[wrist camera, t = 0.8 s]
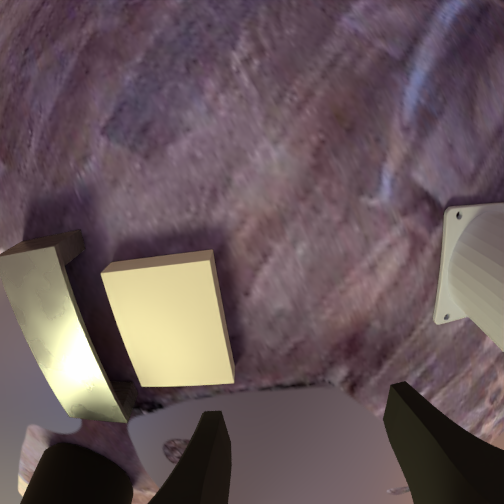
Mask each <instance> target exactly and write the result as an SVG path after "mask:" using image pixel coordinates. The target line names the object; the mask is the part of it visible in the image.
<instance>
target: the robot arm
mask: <svg viewBox="0 0 504 504" xmlns="http://www.w3.org/2000/svg"><path fill="white" fill-rule="evenodd" d="M458 212H459V216H458V217H457V218H456V215H457V213H458ZM446 314H447V315H446ZM445 315H446V316H445ZM465 317H469V318H470V319H471V320H472V321H473V322H474V323H475V324H476V325H477V326H478V327H479V328H480V329H481V330H482V331H483V332H484V333H485V334H486V335H487V336H488V337H489V338H490V339H491V340H492V341H493V342H494V343H495V344H496V345H497V346H498V347H499V348H500V349H501V350H502V351H503V352H504V202H502V203H488V204H475V205H463V206H451V207H448V208H447V209H446V210H445V212H444V225H443V241H442V253H441V264H440V273H439V281H438V289H437V296H436V303H435V309H434V315H433V320H434V322H435V323H436V324H443V323H447V322H450V321H454V320H458V319H461V318H465ZM383 421H384V425H385V428H386V432H387V435H388V438H389V441H390V444H391V446H392V448H393V451H394V453H395V455H396V457H397V460H398V462H399V464H400V467H401V469H402V471H403V473H404V476H405V478H406V481H407V483H408V486H409V489H410V491H411V495H412V498H413V502H414V504H504V450H502V449H500V448H497V447H494V446H493V445H491V444H489V443H487V442H485V441H483V440H481V439H479V438H478V437H476V436H474V435H472V434H471V433H469V432H468V431H466V430H465V429H463V428H462V427H460V426H459V425H457V424H456V423H455V422H453V421H452V420H451V419H449V418H448V417H447V416H445V415H444V414H443V413H442V412H440V411H439V410H438V409H437V408H436V407H434V406H433V405H432V404H431V403H430V402H428V401H427V400H426V399H425V398H424V397H423V396H422V395H420V394H419V393H418V392H417V391H416V390H415V389H414V388H413V387H411V386H410V385H409V384H408V383H407V382H406V381H404V382H400V383H396V384H392V385H390V390H389V395H388V400H387V404H386V409H385V413H384V417H383ZM231 466H232V465H231V441H230V438H229V435H228V431H227V428H226V425H225V421H224V418H223V415H222V412H221V411H207V412H206V411H205V412H204V413H202V416H201V418H200V421H199V423H198V425H197V428H196V430H195V432H194V434H193V436H192V438H191V440H190V442H189V444H188V446H187V448H186V449H185V451H184V453H183V455H182V457H181V458H180V460H179V462H178V463H177V465H176V466H175V468H174V470H173V471H172V473H171V474H170V476H169V477H168V479H167V480H166V481H165V483H164V484H163V486H162V487H161V488H160V489H159V491H158V492H157V493H156V494H155V496H154V497H153V498H152V499H151V500H150V501H149V502H148V504H228V497H229V487H230V476H231Z"/></svg>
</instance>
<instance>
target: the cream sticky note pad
mask: <svg viewBox="0 0 504 504" xmlns="http://www.w3.org/2000/svg"><path fill="white" fill-rule="evenodd" d="M101 277H102V280H103V283H104V286H105V290H106V293H107V296H108V299H109V302H110V305H111V308H112V311H113V314H114V317H115V320H116V323H117V325H118V328H119V331H120V334H121V336H122V339H123V342H124V344H125V347H126V349H127V352H128V355H129V357H130V360H131V362H132V364H133V367H134V369H135V372H136V374H137V376H138V379H139V381H140V383H141V386H142V387H166V386H196V385H214V384H228V383H234V375H235V365H234V360H233V355H232V350H231V345H230V340H229V335H228V330H227V325H226V320H225V314H224V309H223V304H222V299H221V293H220V288H219V282H218V277H217V271H216V265H215V260H214V254H213V249H211V250H203V251H195V252H187V253H180V254H172V255H164V256H156V257H148V258H140V259H133V260H125V261H117V262H111V263H110V264H109V265H108V266H107V267H106V268H105V269H104V270H103V271H102V272H101Z"/></svg>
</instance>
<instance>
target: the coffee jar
mask: <svg viewBox="0 0 504 504" xmlns="http://www.w3.org/2000/svg"><path fill="white" fill-rule="evenodd" d="M132 498H133V487H132V484H131V482H130V480H129V477H128V476H127V474H126V473H125V472H124V471H123V470H122V469H121V468H120V467H119V466H117V465H116V464H115V463H113V462H112V461H110V460H109V459H107V458H105V457H104V456H102V455H100V454H98V453H96V452H94V451H92V450H89V449H86V448H83V447H81V446H78V445H73V444H69V443H58V444H56V445H53V446H51V447H49V448H48V449H46V450H45V451H44V453H43V455H42V457H41V459H40V461H39V463H38V465H37V467H36V470H35V472H34V474H33V476H32V478H31V480H30V483H29V485H28V487H27V489H26V491H25V494H24V496H23V499H22V501H21V503H20V504H131V502H132Z"/></svg>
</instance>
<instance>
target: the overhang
mask: <svg viewBox="0 0 504 504" xmlns="http://www.w3.org/2000/svg"><path fill="white" fill-rule="evenodd" d="M84 250H85V245H84V241H83V237H82V233H81V229H80V230H75V231H70V232H65V233H60V234H55V235H50V236H45V237H40V238H35V239H31V240H26V241H22V242H20V243H18V244H16V245H15V246H13V247H11V248H10V249H8V250H6V251H5V252H3V253H1V254H0V277H1V280H2V282H3V285H4V288H5V291H6V293H7V296H8V299H9V301H10V304H11V306H12V309H13V311H14V314H15V316H16V318H17V321H18V323H19V325H20V328H21V330H22V332H23V334H24V336H25V338H26V341H27V343H28V345H29V347H30V349H31V351H32V353H33V355H34V357H35V359H36V361H37V363H38V365H39V367H40V369H41V370H42V372H43V374H44V376H45V377H46V379H47V381H48V383H49V385H50V386H51V388H52V390H53V392H54V393H55V395H56V397H57V398H58V400H59V401H60V403H61V405H62V406H63V408H64V410H65V411H66V413H67V414H68V416H69V417H73V418H80V419H88V420H98V421H108V422H121V423H128V421H129V418H130V415H131V412H132V409H133V406H134V404H135V401H136V398H137V395H138V392H137V390H136V388H135V386H134V384H133V382H112V381H109V379H108V377H107V375H106V373H105V370H104V368H103V366H102V364H101V362H100V359H99V357H98V355H97V353H96V350H95V348H94V346H93V343H92V341H91V339H90V336H89V334H88V331H87V329H86V326H85V324H84V321H83V318H82V316H81V313H80V310H79V308H78V305H77V302H76V299H75V297H74V294H73V291H72V288H71V285H70V282H69V279H68V276H67V272H66V269H65V265H66V264H67V263H69V262H70V261H71V260H72V259H74V258H75V257H76V256H77V255H79V254H80V253H81V252H83V251H84Z"/></svg>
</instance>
